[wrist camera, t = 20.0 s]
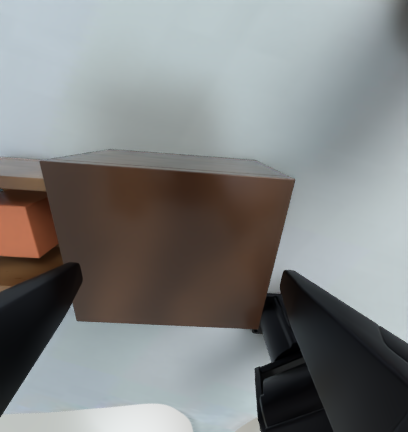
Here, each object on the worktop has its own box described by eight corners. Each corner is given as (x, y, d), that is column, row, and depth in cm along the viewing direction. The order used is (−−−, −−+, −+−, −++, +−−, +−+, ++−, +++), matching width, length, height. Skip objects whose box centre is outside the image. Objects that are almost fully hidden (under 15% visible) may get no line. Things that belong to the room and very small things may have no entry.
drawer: (-39, 246, 21) (-141, 295, 14) (-86, 142, 17) (-254, 147, 11) (128, 256, 21) (97, 306, 15) (119, 157, 17) (73, 171, 11)
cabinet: (120, 256, 22) (76, 321, 14) (109, 149, 18) (38, 160, 10) (239, 262, 23) (258, 329, 15) (256, 160, 18) (295, 179, 11)
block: (72, 233, 19) (39, 258, 15) (27, 230, 19) (-18, 255, 15) (64, 190, 17) (24, 206, 14) (14, 187, 17) (-40, 202, 13)
